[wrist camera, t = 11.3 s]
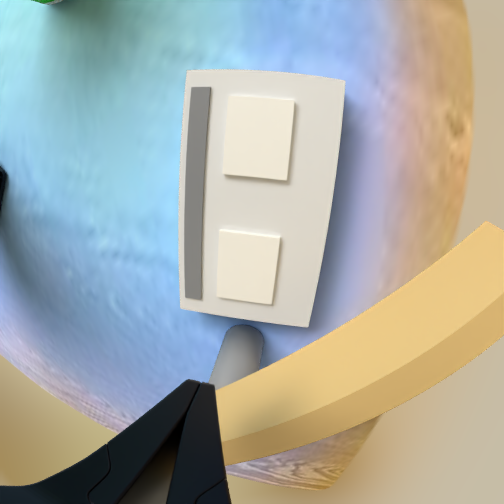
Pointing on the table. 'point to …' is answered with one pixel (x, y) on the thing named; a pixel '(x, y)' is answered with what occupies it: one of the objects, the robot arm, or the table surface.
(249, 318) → the white flat block
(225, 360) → the bar
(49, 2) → the soda can
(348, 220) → the table surface
